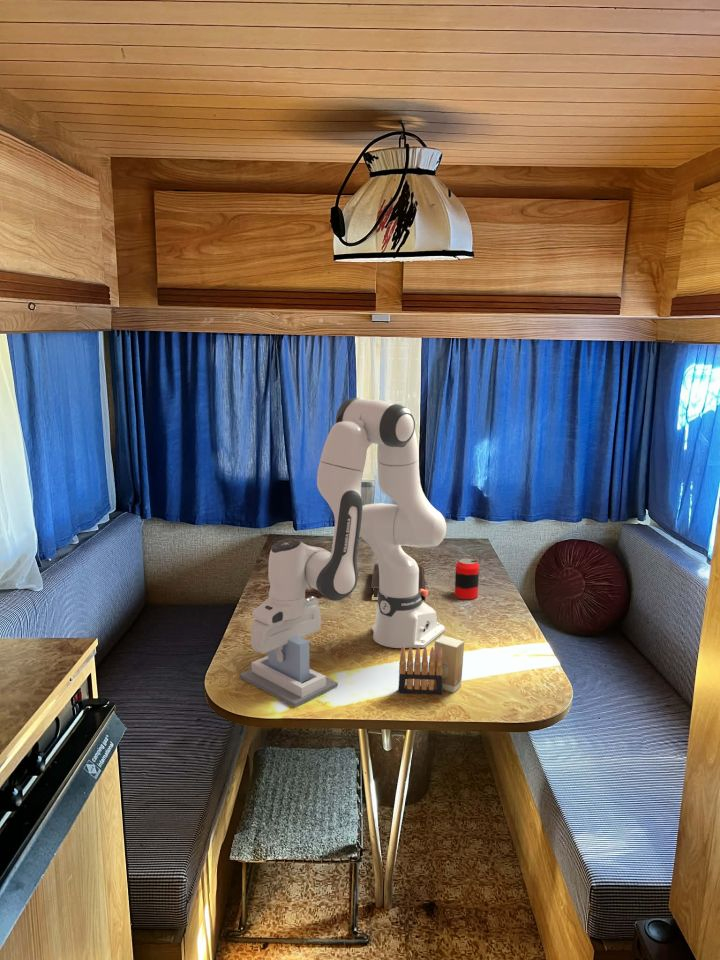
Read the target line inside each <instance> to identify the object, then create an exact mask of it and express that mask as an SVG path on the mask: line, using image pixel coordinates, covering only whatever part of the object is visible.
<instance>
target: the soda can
mask: <svg viewBox="0 0 720 960" xmlns="http://www.w3.org/2000/svg"><path fill="white" fill-rule="evenodd" d="M479 576H480V565H479V563H478V562H477V561H476V559H473V558H460V559H459V560H458V561H457V562H456V564H455V578H454V579H455V580H454V581H455V582H454V596H455V597H456V596H457V597H458V598H457V599H460V598H461V599H460V600H464V599H472V600H475V599H476V598H478V597H479V596H478V595H479V578H480V577H479ZM474 598H475V599H474Z"/></svg>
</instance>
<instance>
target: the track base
mask: <svg viewBox="0 0 720 960" xmlns="http://www.w3.org/2000/svg"><path fill="white" fill-rule="evenodd" d="M250 665H251V669H248V670H247V671H244V672H241V673H240V674H239V679H241V680H242V681H245V682H247V683H249V684H250V683H251V685H252V684H253V685H252V686H254V687H257V688H258V689H259V690H262V691H264V692H265V693H267V694H268V695H271V696H272V697H275V698H277V699H279V700H280V701H282V702H284V703H285V704H288V705H289V704H290V705H289V706H291V705H292V707H293V706H294V707H293V708H295V707H296V708H298V707H300V706H301V704H302V705H303V704H306V703H307V702H310V701H311V700H314V699H316V698H317V697H319V696H322V695H323V694H325V693H327V692H329V691H332V690H333V688H334V689H336V688H337V686H338V685H339V684H338V682H337V681H334V680H333V679H330V678H328V677H327V675H324V674H322V673H320V672H318V671H317V670H313V669H311V668H310V667H309V679H308V680H306V681H304V682H302V683H300V682H298V681H296V680H294V679H292V678H290V677H288V676H286V675H284V674H282V673H280V672H278V671H276V670H274V669H272V668H270V667H268V655H266V656H263V657H261V658H259V659H256V660H254V661H251V664H250ZM335 687H336V688H335ZM299 705H300V706H299ZM297 706H298V707H297Z"/></svg>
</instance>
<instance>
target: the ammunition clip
mask: <svg viewBox="0 0 720 960" xmlns="http://www.w3.org/2000/svg"><path fill="white" fill-rule="evenodd" d="M415 649H416V650H415V655H414V654H413V648H411V646H410V648H408V650H407V651H408V652H407V661H406V648H404V646H403V647H402V648H400V657H399V667H398V689H397V693H398V694H401V695H403V694H404V695H406V694H407V695H433V696H443V689H442V668H443V664H442V651H441V648H439V649H438V653H437V662H436V672H435V653H434V647H431V649H430V652H429V661H428V649H427V647H426V646H425V647H424V648H423V651H422V656H421V649H420V648H419V647H417V648H415ZM414 656H415V658H414ZM421 657H422V658H421ZM421 659H422V660H421Z"/></svg>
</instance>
